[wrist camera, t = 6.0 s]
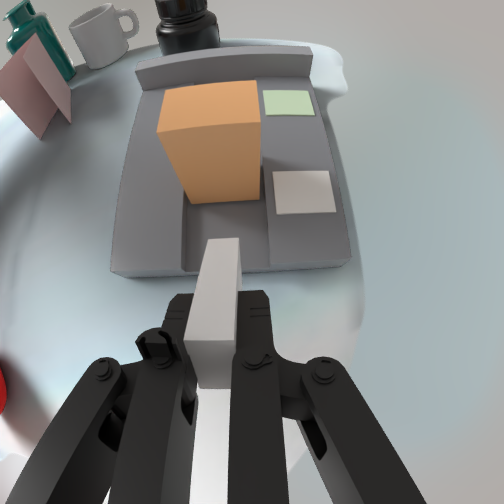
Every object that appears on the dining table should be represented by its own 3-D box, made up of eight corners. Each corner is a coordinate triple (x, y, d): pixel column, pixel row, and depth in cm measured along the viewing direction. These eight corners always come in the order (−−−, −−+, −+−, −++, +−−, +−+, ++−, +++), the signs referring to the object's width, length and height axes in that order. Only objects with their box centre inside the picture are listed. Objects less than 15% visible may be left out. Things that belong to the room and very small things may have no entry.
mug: (83, 75, 34) (60, 34, 23) (95, 52, 36) (78, 15, 25) (142, 55, 34) (125, 6, 23) (149, 34, 36) (136, -8, 25)
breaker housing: (340, 266, 24) (367, 246, 17) (125, 277, 24) (88, 261, 17) (303, 84, 30) (309, 46, 24) (152, 97, 30) (138, 62, 24)
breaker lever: (259, 199, 24) (260, 121, 14) (191, 204, 24) (156, 132, 14) (256, 162, 25) (256, 80, 15) (193, 166, 25) (165, 90, 15)
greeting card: (67, 90, 33) (32, 34, 18) (97, 82, 32) (63, 18, 18) (36, 140, 30) (-13, 85, 15) (65, 135, 29) (13, 68, 15)
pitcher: (77, 75, 34) (33, -7, 13) (42, 101, 33) (-10, 28, 11) (72, 60, 36) (36, -9, 15) (41, 84, 35) (-1, 19, 14)
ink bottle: (230, 41, 34) (225, -19, 22) (212, 69, 31) (201, -1, 20) (176, 41, 34) (163, -13, 23) (152, 69, 32) (132, 9, 21)
